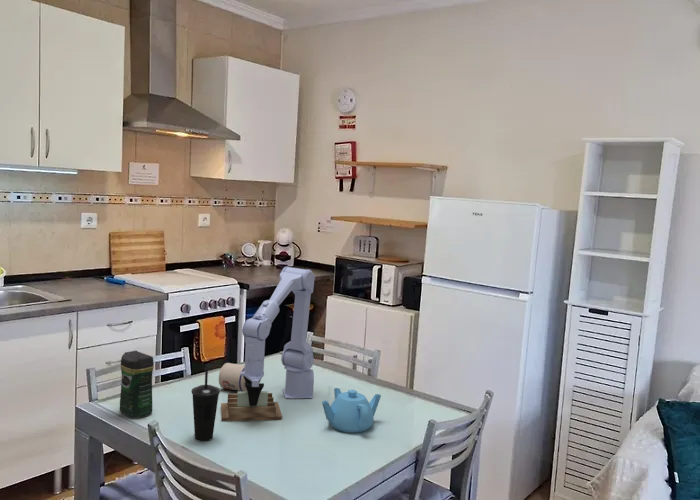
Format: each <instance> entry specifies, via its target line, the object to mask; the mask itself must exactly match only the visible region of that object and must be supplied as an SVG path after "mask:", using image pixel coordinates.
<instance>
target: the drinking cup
mask: <svg viewBox="0 0 700 500" xmlns="http://www.w3.org/2000/svg"><path fill="white" fill-rule="evenodd" d="M208 374H209V367H207V366H206V367H205V371H204V384H201V385H198V386H195V387H193V388H192V389H191V390H190V391H191V392H190V393H191V394H192V408H193V413H192V414H193V427H194V429H193V430H194V431H193V432H194V439H195V441H199V442H208V441H211V440H213V438H214V437H213V436H214V432H215V423H216V418H217V417H216V415H217V409H218V402H219V401H218V400H219V395H220V392H221V389H220V388H219V387H218V386H214V385H211V384H208V378H209V377H208V376H209V375H208Z"/></svg>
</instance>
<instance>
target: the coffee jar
mask: <svg viewBox="0 0 700 500" xmlns="http://www.w3.org/2000/svg"><path fill="white" fill-rule="evenodd" d="M154 363H155V362H154V357H153V356H152V355H148V354H146V353H144V352H141V351H138V350H131V351H130V350H129V351H127V352H124V353H123V354H121V357H120V370H121V373H120V374H121V386H120V396H119V397H120V399H119V412H120V413H121V414H122V415H124V416H126V417H128V418H131V419H135V418H145V417H147V416H149V415H151V414H152V413H153V373H154V366H155V365H154Z"/></svg>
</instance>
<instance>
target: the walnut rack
mask: <svg viewBox="0 0 700 500" xmlns="http://www.w3.org/2000/svg"><path fill="white" fill-rule="evenodd" d="M274 399H275V398H274V397H273V393H272V392H268V402H267V407H237V393H228V394H227V402H222V403H221V404H220V412H221V413H220V417H221V422H242V421H243V422H246V421H247V422H249V421H248V420H253V421H281V420H282V421H283V414H282V410H281V408H280V405H279V402H278V401H275V400H274ZM245 420H246V421H245Z"/></svg>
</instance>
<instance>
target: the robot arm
mask: <svg viewBox="0 0 700 500" xmlns="http://www.w3.org/2000/svg"><path fill="white" fill-rule="evenodd" d="M315 277H316V276H315V274H314V272H313V271H312V270H311V269H304V268H298V267H292V266H291V267H290V266H284V267H283V268H282V270H281V272H280V273H279V278H278V279H279V280H278V281H279V282H278V284H277V286H276V288H275V289H274V291H273V293H272V295H271V296H270V298H269V299H266V300H263V302H262V303H261V305H260V306H259V307H258V309H257V310H256V311H255V313H254V314H253V316H252V317H251V318H248V319H246V320H245V321H244V323H243V326H242V328H241V332H242V335H243V341H244V343H245V348H244V349H245V350H244V351H245V353H244V365H245V370H244V372H240V375H241V376H243V377H244V379H245V387H246V389H247V392H248V398H249V405H250V406H257V403H258V399H259V395H260V393H261V391H263V389H264V386H265V384H264V383H263V382H262V383H261V380H262V378H264V376H265V352H266V351H265V349H266V339H267V338H268V336H269V335H270V332H271V329H272V323H273V322H274V320H275V319H276V317H278V314H279V313H280V306H281V304H282V303H283V302H284V300H285V299H286V298H287V297H288V295H289V294H290V293H291V292H292V293H293V294H294V304H293V314H292V315H293V317H292V327H291V335H290V341H288V342H287V343H285V344H284V346H283V350H282V351H283V352H282V353H281V356H280V357H281V364H282V366H283V367H284V369H285V385H284V386H285V387H284V388H283V389H282V394H283V395H284V398H285V400H286V399H289V400H290V399H314V386H315V385H314V382H315V375H314V374H315V373H314V369H312V368H313V365H314V361H315V360H314V348H313V347H312V346H311V344H310V343H309V342H308V341H307V336H308V326H309V315H310V307H311V306H310V305H311V297H312V296H311V295H312V294H313V293H314V286H315Z"/></svg>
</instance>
